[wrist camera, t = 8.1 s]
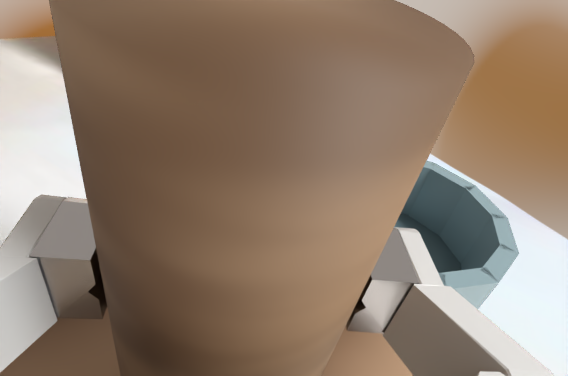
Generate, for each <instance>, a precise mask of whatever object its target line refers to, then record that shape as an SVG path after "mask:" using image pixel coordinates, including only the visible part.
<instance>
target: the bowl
mask: <svg viewBox="0 0 568 376" xmlns="http://www.w3.org/2000/svg"><path fill="white" fill-rule="evenodd" d="M394 227H399V228H412V229H416V230H417V231H418V232H419V233H420V235H421V237H422V239H423V241H424V243H425V246H426V248H427V250H428V252H429V254H430V256H431V259H432V261H433V263H434V265H435V267H436V269H437V271H438V274H439V276H440V278H441V280H442V282H443V284H444V286H451V287H452V288H453V289H454V290H455V291H456V292H458V293H459V294H460V295H461V296H462V297H464V298H465V299H466V300H467V301H468V302H469V303H471V304H472V305H473V306H474V307H475V308H477V309H478V308H479V307H480V306H481V304H482V303H483V302H484V301H485V299H486V298H487V297H488V296H489V294H490V293H491V292H492V291H493V289H494V288H495V287H496V286H497V284H498V283H499V282H500V280H501V279H502V277H503V276H504V275H505V273H506V272H507V270H508V269H509V267H510V266H511V264H512V263H513V262H514V260H515V259H516V257H517V256H518V254H519V252H518V249H517V246H516V243H515V240H514V236H513V233H512V230H511V227H510V224H509V221H508V218H507V217H506V216H505V215H504V214H503V213H502V212H501V211H500V210H499V209H498V208H497V207H496V206H495V205H494V204H493V203H492V202H491V201H490V200H489V199H488V198H487V197H486V196H485V195H484V194H483V193H482V192H481V191H480V190H479V189H478V188H477V187H476V186H475V185H473V184H472V183H470V182H468V181H466V180H464V179H462V178H461V177H459V176H457V175H455V174H453V173H452V172H450V171H448V170H446V169H444V168H443V167H441V166H439V165H437V164H435V163H433V162H429V161H426V163H425V165H424V167H423V169H422V171H421V173H420V175H419V177H418V179H417V181H416V183H415V185H414V187H413V189H412V191H411V193H410V195H409V197H408V199H407V201H406V203H405V206H404V208H403V210H402V212H401V214H400V216H399V218H398V220H397V222H396V224H395V226H394Z"/></svg>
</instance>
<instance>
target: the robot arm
mask: <svg viewBox="0 0 568 376" xmlns="http://www.w3.org/2000/svg"><path fill="white" fill-rule="evenodd" d="M106 309H107V303H106V297H105V292H104V287H103V282H102V276H101V271H100V266H99V261H98V255H97V250H96V245H95V240H94V234H93V229H92V224H91V219H90V213H89V208H88V203H87V199H80V198H71V197H68V198H66V197H57V196H49V195H40V196H38V197H37V198H35V199H34V200H33V202H32V203H31V204H30V206H29V207H28V209H27V210H26V212H25V213H24V214H23V216H22V217H21V219H20V220H19V222H18V223H17V224H16V226H15V227H14V229H13V230H12V232H11V233H10V234H9V236H8V237H7V239H6V240H5V242H4V243H3V244H2V246H1V247H0V372H2V371H3V370H4V369H5V368H6V367H7V366H8V365H9V364H10V363H11V362H13V361H14V360H15V359H16V358H17V357H18V356H19V355H20V354H21V353H23V352H24V351H25V350H26V349H27V348H28V347H29V346H30V345H31V344H32V343H34V342H35V341H36V340H37V339H38V338H39V337H40V336H41V335H42V334H44V333H45V332H46V331H47V330H48V329H49V328H50V327H51V326H52V325H53V324H55V323H56V322H57V318H71V319H103V317H104V314H105V311H106ZM346 330H347V331H355V332H368V333H381V334H383V337H384V338H385V339H386V341H387V342H388V343H389V345H390V346H391V347H392V348H393V350H394V351H395V352H396V354H397V355H398V356H399V358H400V359H401V360H402V361H403V363H404V364H405V365H406V367H407V368H408V369H409V370H410V372H411V373H412V374H413V376H554V375H553V373H552V372H551V371H550V370H549V369H547V368H546V367H545V366H544V365H543V364H542V363H540V362H539V361H538V360H537V359H536V358H534V357H533V356H532V355H531V354H530V353H529V352H527V351H526V350H525V349H524V348H523V347H521V346H520V345H519V344H518V343H517V342H516V341H514V340H513V339H512V338H511V337H510V336H508V335H507V334H506V333H505V332H504V331H503V330H501V329H500V328H499V327H498V326H497V325H495V324H494V323H493V322H492V321H491V320H490V319H488V318H487V317H486V316H485V315H484V314H482V313H481V312H480V311H479V310H478V309H477V308H475V307H474V306H473V305H472V304H471V303H469V302H468V301H467V300H466V299H465V298H464V297H462V296H461V295H460V294H459V293H458V292H456V291H455V290H454V289H453V288H452V287H451V286H444V284H443V282H442V280H441V278H440V276H439V274H438V271H437V269H436V267H435V265H434V263H433V261H432V259H431V256H430V254H429V252H428V250H427V248H426V246H425V243H424V241H423V239H422V237H421V235H420V233H419V232H418V231H417V230H416V229H412V228H399V227H394V228H393V230H392V232H391V234H390V236H389V238H388V240H387V242H386V244H385V246H384V248H383V250H382V253H381V255H380V257H379V259H378V261H377V263H376V265H375V267H374V269H373V271H372V273H371V275H370V277H369V279H368V281H367V283H366V285H365V287H364V289H363V291H362V293H361V295H360V297H359V299H358V302H357V304H356V306H355V308H354V310H353V312H352V314H351V316H350V318H349V320H348V322H347V324H346Z"/></svg>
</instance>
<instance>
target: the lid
mask: <svg viewBox="0 0 568 376" xmlns="http://www.w3.org/2000/svg"><path fill="white" fill-rule="evenodd" d="M49 3H50V8H51V14H52V19H53V24H54V29H55V35H56V40H57V45H58V50H59V56H60V61H61V66H62V72H63V77H64V82H65V87H66V93H67V98H68V103H69V108H70V114H71V119H72V124H73V129H74V135H75V140H76V145H77V150H78V156H79V161H80V166H81V171H82V177H83V182H84V187H85V192H86V198H87V203H88V208H89V213H90V219H91V224H92V229H93V234H94V240H95V245H96V250H97V255H98V261H99V266H100V271H101V276H102V282H103V287H104V292H105V297H106V303H107V309H106V311H105V314H104V317H103V319H71V318H57V322H56V323H55V324H53V325H52V326H51V327H50V328H49V329H48V330H47V331H46V332H45V333H44V334H42V335H41V336H40V337H39V338H38V339H37V340H36V341H35V342H34V343H32V344H31V345H30V346H29V347H28V348H27V349H26V350H25V351H24V352H23V353H21V354H20V355H19V356H18V357H17V358H16V359H15V360H14V361H13V362H11V363H10V364H9V365H8V366H7V367H6V368H5V369H4V370H3V371H2V372H0V376H413V374H412V373H411V372H410V370H409V369H408V368H407V367H406V365H405V364H404V363H403V361H402V360H401V359H400V358H399V356H398V355H397V354H396V352H395V351H394V350H393V348H392V347H391V346H390V345H389V343H388V342H387V341H386V339H385V338H384V337H383V334H381V333H368V332H355V331H347V330H346V324H347V322H348V320H349V318H350V316H351V314H352V312H353V310H354V308H355V306H356V304H357V302H358V299H359V297H360V295H361V293H362V291H363V289H364V287H365V285H366V283H367V281H368V279H369V277H370V275H371V273H372V271H373V269H374V267H375V265H376V263H377V261H378V259H379V257H380V255H381V253H382V250H383V248H384V246H385V244H386V242H387V240H388V238H389V236H390V234H391V232H392V230H393V228H394V226H395V224H396V222H397V220H398V218H399V216H400V214H401V212H402V210H403V208H404V206H405V203H406V201H407V199H408V197H409V195H410V193H411V191H412V189H413V187H414V185H415V183H416V181H417V179H418V177H419V175H420V173H421V171H422V169H423V167H424V165H425V163H426V161H427V159H428V157H429V154H430V152H431V150H432V148H433V146H434V144H435V142H436V140H437V138H438V136H439V134H440V132H441V130H442V128H443V126H444V124H445V122H446V120H447V118H448V116H449V113H450V112H451V109H452V107H453V105H454V103H455V101H456V99H457V97H458V95H459V93H460V91H461V89H462V87H463V85H464V83H465V81H466V79H467V76H468V75H469V73H470V71H471V69H472V67H473V65H474V54H473V52H472V50H471V48H470V46H469V45H468V44H467V43H466V42H465V40H464V39H463V38H461V37H460V36H459V35H458V34H457V33H456V32H454V31H453V30H451V29H450V28H448V27H447V26H446V25H444V24H442V23H441V22H439V21H437V20H435V19H434V18H432V17H430V16H428V15H426V14H424V13H422V12H420V11H418V10H416V9H414V8H412V7H409V6H407V5H405V4H402V3H400V2H397V1H395V0H49Z"/></svg>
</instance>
